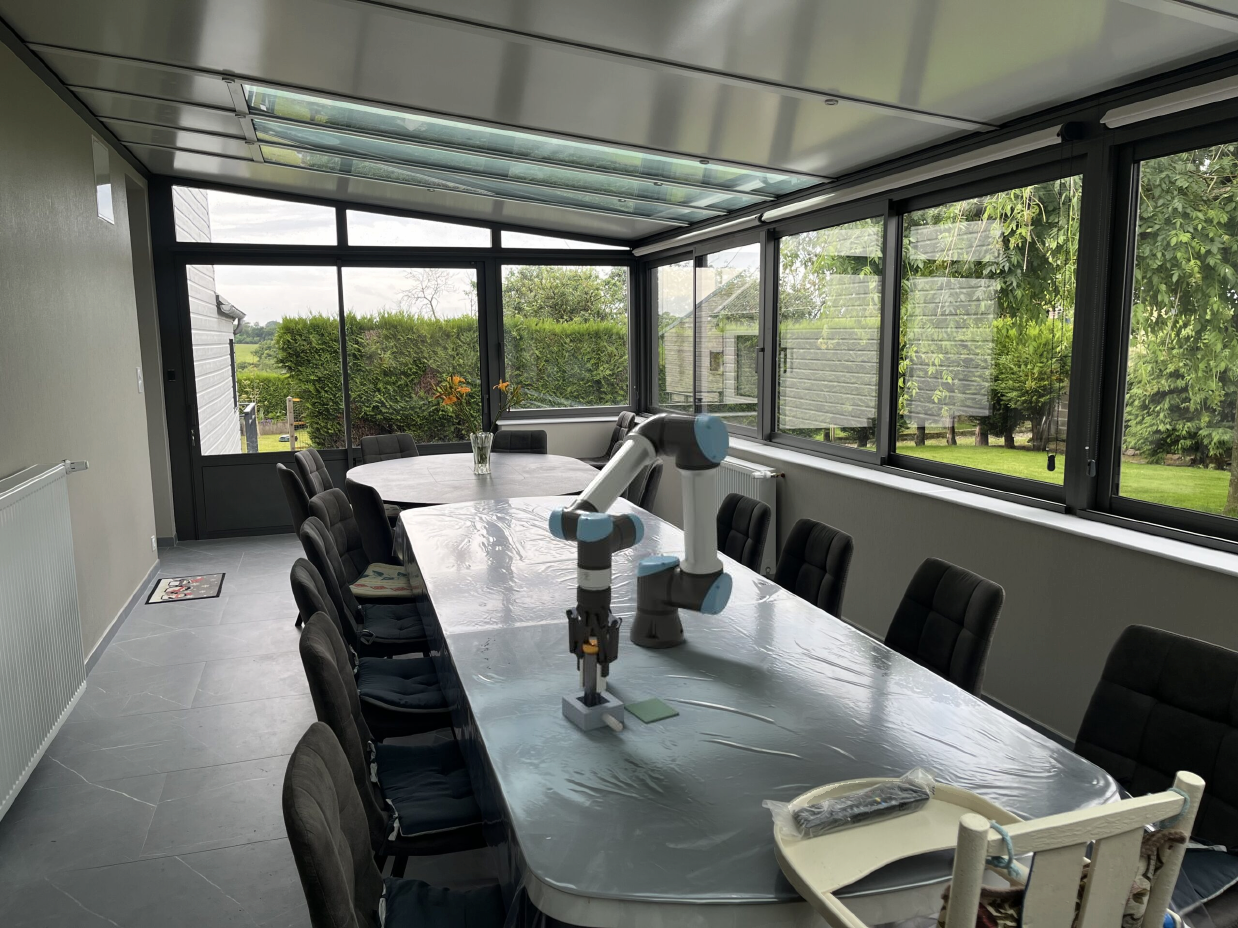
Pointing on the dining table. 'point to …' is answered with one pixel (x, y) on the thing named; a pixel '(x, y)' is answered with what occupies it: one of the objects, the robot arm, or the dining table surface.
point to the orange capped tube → (591, 673)
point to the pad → (651, 710)
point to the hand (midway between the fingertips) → (592, 687)
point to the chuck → (594, 711)
